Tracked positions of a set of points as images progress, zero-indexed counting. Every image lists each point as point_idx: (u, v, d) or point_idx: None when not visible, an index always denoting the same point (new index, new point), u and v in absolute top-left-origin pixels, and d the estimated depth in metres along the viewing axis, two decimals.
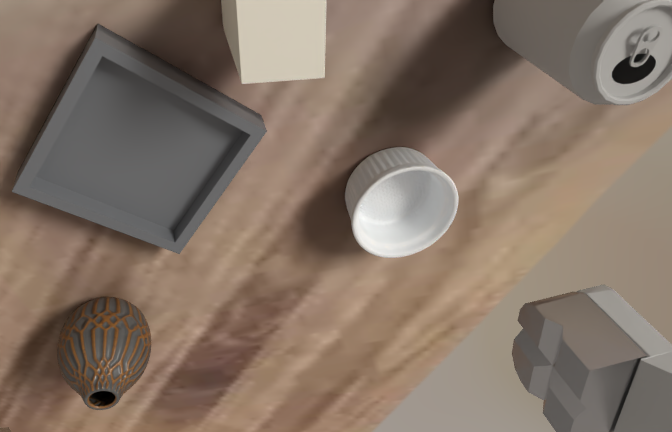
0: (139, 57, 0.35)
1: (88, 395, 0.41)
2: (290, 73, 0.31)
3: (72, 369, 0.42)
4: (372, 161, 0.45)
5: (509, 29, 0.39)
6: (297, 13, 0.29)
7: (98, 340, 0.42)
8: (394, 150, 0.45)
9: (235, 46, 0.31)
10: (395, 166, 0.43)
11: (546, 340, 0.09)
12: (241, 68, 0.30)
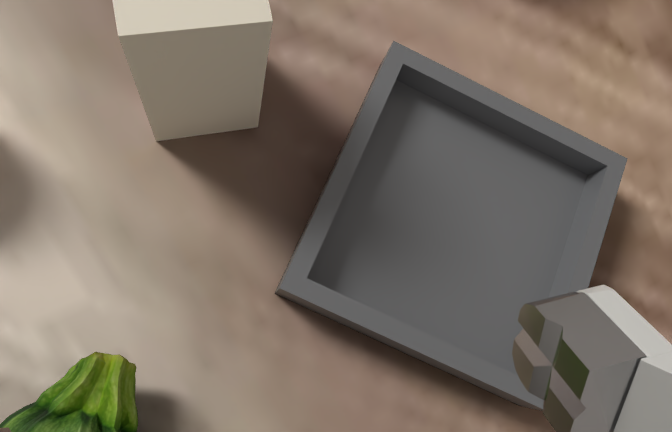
0: (305, 229, 0.24)
1: None
2: None
3: None
4: None
5: None
6: None
7: None
8: None
9: (228, 55, 0.19)
10: None
11: (546, 340, 0.09)
12: (245, 22, 0.17)
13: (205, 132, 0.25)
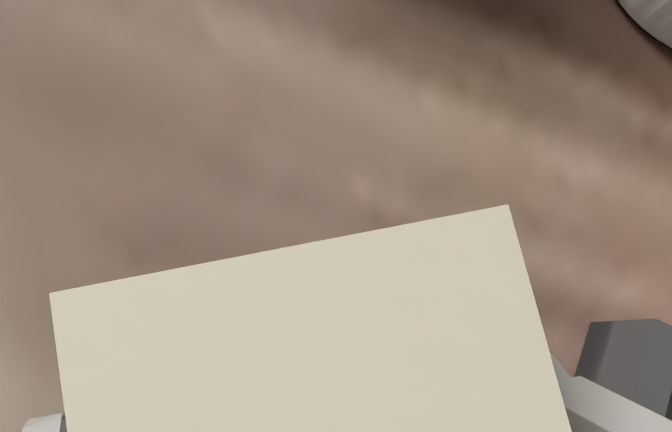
0: None
1: None
2: (524, 396, 0.06)
3: None
4: (656, 4, 0.17)
5: None
6: None
7: None
8: None
9: None
10: None
11: None
12: None
13: None
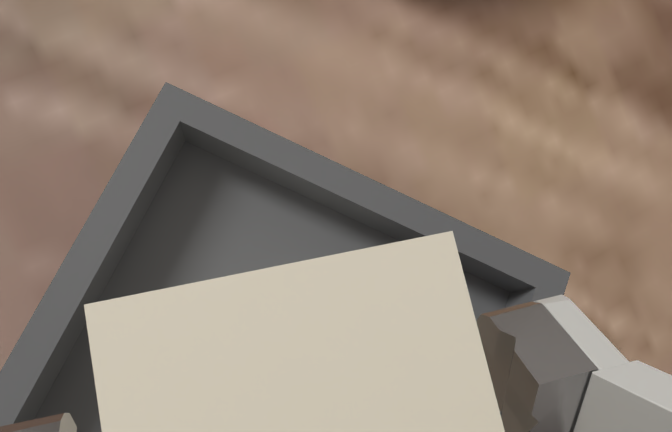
0: None
1: None
2: (462, 386, 0.07)
3: None
4: None
5: None
6: (194, 418, 0.06)
7: None
8: None
9: None
10: None
11: (501, 352, 0.09)
12: None
13: None
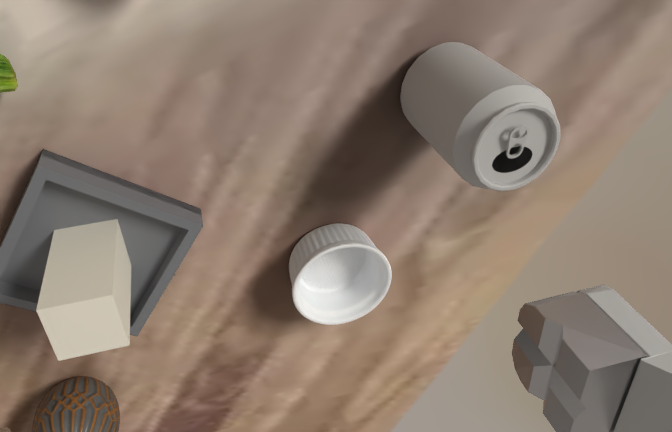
0: (80, 175, 0.40)
1: None
2: (98, 347, 0.38)
3: None
4: (308, 239, 0.49)
5: (413, 120, 0.43)
6: (91, 311, 0.36)
7: (67, 421, 0.47)
8: (329, 227, 0.49)
9: None
10: (326, 245, 0.47)
11: (546, 340, 0.09)
12: (55, 351, 0.37)
13: None
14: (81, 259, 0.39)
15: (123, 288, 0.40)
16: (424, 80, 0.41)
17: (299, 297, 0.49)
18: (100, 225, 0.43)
